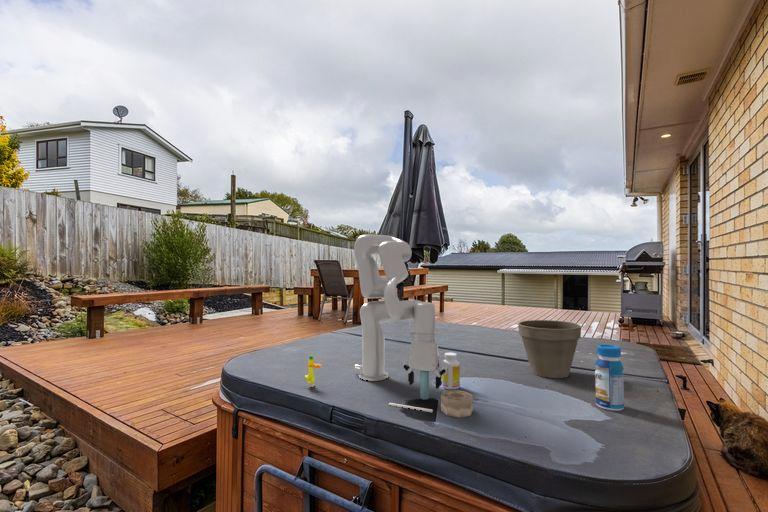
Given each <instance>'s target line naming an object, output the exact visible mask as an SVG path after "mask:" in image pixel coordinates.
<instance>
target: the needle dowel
mask: <svg viewBox="0 0 768 512" xmlns="http://www.w3.org/2000/svg"><path fill="white" fill-rule="evenodd" d="M419 372H420V373H419V374H420V377H419V378H420V379H419V381H420V383H419V384H420V385H419V386H420V389H419V392H420V393H419V395H420V396H419V397H420V399H421V400H429V399H430V390H429V389H430V386H429V383H430V372H429V371H420V370H419Z"/></svg>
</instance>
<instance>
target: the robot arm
mask: <svg viewBox="0 0 768 512" xmlns="http://www.w3.org/2000/svg"><path fill="white" fill-rule="evenodd" d="M353 246H354V247H353V251H354V252H353V253H354V258H355V260H356V265H357V268H358V276H359V277H358V279H359V286H360V292H361V295H362V297H363V298H365V299H381V300H373V301H367V302H365V303H363V305H361V307H360V309H359V318H360V323H361V365H360V364H354V368H353V369H354V371H357V372H358V376H359V377H358V376H357V377H358V379H360V378H361V379H360V380H362V379H363V380H362V381H366V380H368V381H367V382H379V381H384V380H387V379H388V378H389V373H388V372H387V371H385V367H386V366H385V364H386V363H385V360H386V359H385V356H386V355H385V354H386V353H385V350H386V349H385V345H386V344H385V343H386V342H385V341H386V340H385V335H386V334H385V332H384V330H383V328H382V326H381V324H387V323H394V322H397V323H399V322H402V323H403V322H409V321H413V332H410V334H409V336H410V337H411V338H413V339H412V340H411V341H410V348H409V355H408V356H407V357H404V358H402V359H401V360H400V362H401V364H402V366H403V369H404V370H405V371H406V373H407V378H408V379H407V381H408V383H409V384H408V385H409V386H412V385H413V384H414V383H415V372H414V371H419V372H420V371H429V373H430V372H431V373H432V372H433V373H434V374H435V375H436V376H435V389H436V390H437V389H439V388H440V387H441V386H442V375H443V374H444V373H445V372H446V370H447V368H448V366H449V364H448V363H446V362H444V361H443V360H444V359H441V358H440V351H439V346H438V341H437V340H436V306H435V304H434V303H433V302H429V301H421V300H419V299H418V300H417V299H408V300H406V299H405V300H400V299H399V297H398V290H397V285H398V284H400V283H402V282H403V281H404V280H406V278H408V276H409V271H408V269H407V267H406V264H405V263H406V262H408V261H409V260H411V257H412V253H413V251H412V248H411V246H410V245H409V243H408V242H406V241H404V240H402V239H400V238H397V237H394V236H392V235H388V234H387V235H386V234H385V235H384V234H371V233H370V234H369V233H367V234H362V235H359V236H358V237H357V238H356V240H355V242H354V245H353ZM372 255H378V257H379V260H380V263H381V265H382V268H383V271H384V274H385V275H380V272H379V266H378V263H377V262H376V260H375V258H374V257H372ZM440 365H441V367H442V366H443V369H442V368H441V369H440ZM386 378H387V379H386Z"/></svg>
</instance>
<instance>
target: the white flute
mask: <svg viewBox="0 0 768 512" xmlns="http://www.w3.org/2000/svg"><path fill="white" fill-rule="evenodd" d="M390 405H391V406H390ZM388 406H390V407H396V406H397V408H402V407H403V409H408V408H410V409H409V410H414V409H416V410H415V411H420V410H422V411H421V412H428V413H433V411H434V410H433V409H431V408H426V407H425V408H424V407H419V406H412V405H405V404H399V403H393V402H389V403H388Z"/></svg>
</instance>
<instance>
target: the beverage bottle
mask: <svg viewBox="0 0 768 512" xmlns="http://www.w3.org/2000/svg"><path fill="white" fill-rule="evenodd" d="M596 348H597V350H596V351H597V356H598V358H597V359H596V361H595V364H594V367H595V368H596V369H595V371H594V376H595V405H596V406H598V407H599V408H601V409H604V410H607V411H611V412H612V411H613V412H616V411H617V412H618V411H619V412H620V411H623V410H624V408H625V397H624V396H625V395H624V393H625V392H624V391H625V390H624V386H625V385H624V384H625V383H624V380H625V373H624V369H625V367H624V366H623V363H622V362H621V360H620V359H621V356H622V351H621V350H622V349H621V347H620V346H618V345H613V344H598V345H597V347H596Z"/></svg>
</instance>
